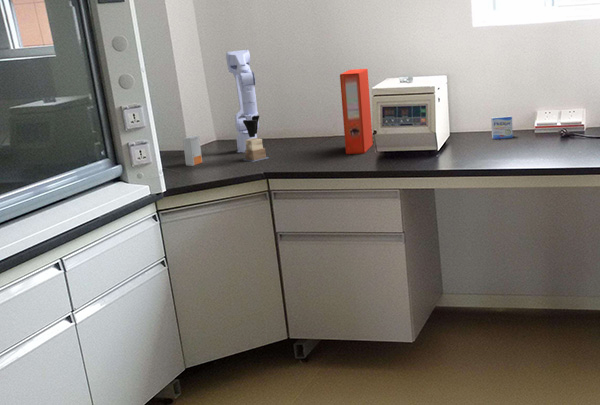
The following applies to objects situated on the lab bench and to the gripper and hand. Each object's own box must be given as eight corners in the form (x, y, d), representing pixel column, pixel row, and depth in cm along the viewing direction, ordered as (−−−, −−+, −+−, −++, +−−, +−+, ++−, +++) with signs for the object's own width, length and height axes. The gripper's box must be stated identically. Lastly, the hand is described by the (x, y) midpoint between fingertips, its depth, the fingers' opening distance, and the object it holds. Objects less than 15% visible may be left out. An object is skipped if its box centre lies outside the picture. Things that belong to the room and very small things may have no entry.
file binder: (373, 144, 328) (367, 68, 320) (365, 153, 312) (359, 72, 304) (354, 145, 330) (348, 69, 322) (346, 154, 314) (338, 74, 306)
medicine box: (492, 139, 313) (491, 118, 310) (491, 137, 317) (490, 116, 315) (513, 138, 311) (512, 116, 309) (511, 136, 315) (511, 115, 313)
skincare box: (194, 167, 321) (190, 138, 318) (186, 166, 323) (182, 138, 320) (203, 163, 326) (199, 135, 323) (195, 163, 328) (191, 135, 325)
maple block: (246, 149, 321) (245, 140, 320) (256, 147, 323) (255, 137, 322) (252, 150, 317) (251, 141, 316) (263, 148, 319) (261, 138, 318)
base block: (246, 159, 322) (244, 149, 321) (258, 156, 325) (256, 147, 324) (254, 160, 317) (252, 151, 316) (266, 157, 320) (265, 148, 319)
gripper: (241, 100, 323) (245, 133, 326) (237, 105, 309) (241, 139, 312) (258, 99, 323) (262, 131, 326) (254, 103, 308) (258, 137, 312)
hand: (253, 135), depth 319 cm, fingers open, 7 cm apart
